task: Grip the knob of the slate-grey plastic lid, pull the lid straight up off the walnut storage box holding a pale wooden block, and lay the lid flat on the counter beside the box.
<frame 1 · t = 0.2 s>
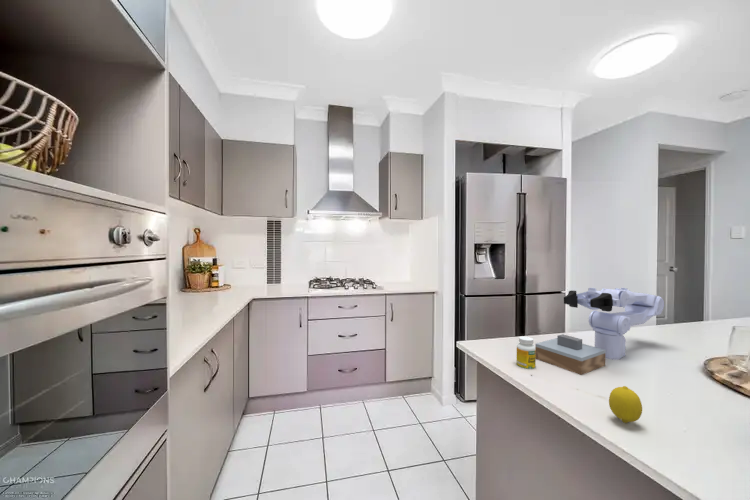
hand: (577, 301, 91), 21 cm above the countertop, tool horizontal, fingers open, 7 cm apart
box: (569, 365, 95), on the countertop
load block: (567, 360, 96), point 1 cm above the countertop, touching box
lid: (569, 354, 95), point 3 cm above the countertop, touching box
lemon: (624, 423, 64), on the countertop
supplement bottle: (525, 369, 92), on the countertop
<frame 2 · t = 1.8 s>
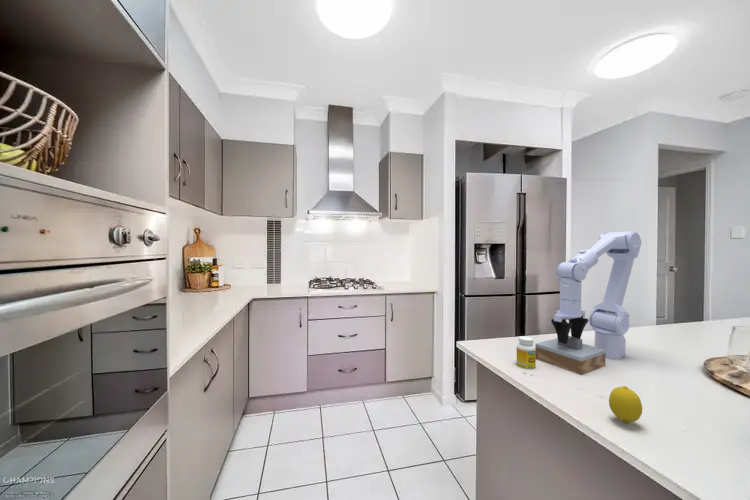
hand: (569, 341, 95), 8 cm above the countertop, tool pointing down, fingers open, 7 cm apart
nothing on the countertop moved.
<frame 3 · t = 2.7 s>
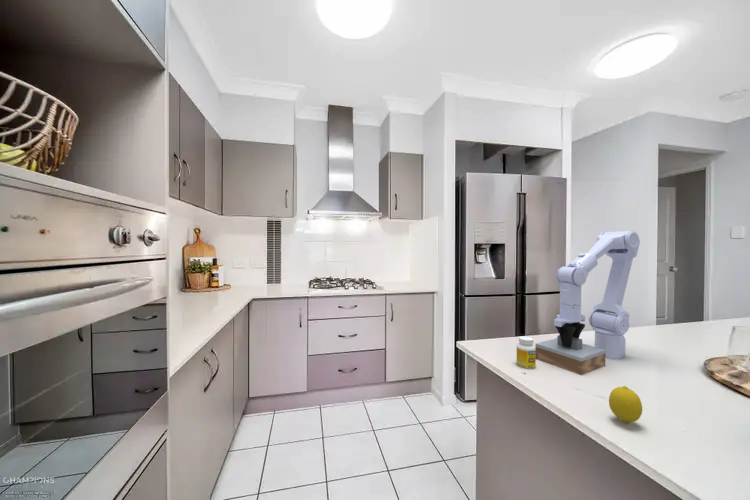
hand: (569, 345, 95), 6 cm above the countertop, tool pointing down, fingers closed on lid, 3 cm apart
lid: (569, 354, 95), point 3 cm above the countertop, touching box, gripper
everything else where it was.
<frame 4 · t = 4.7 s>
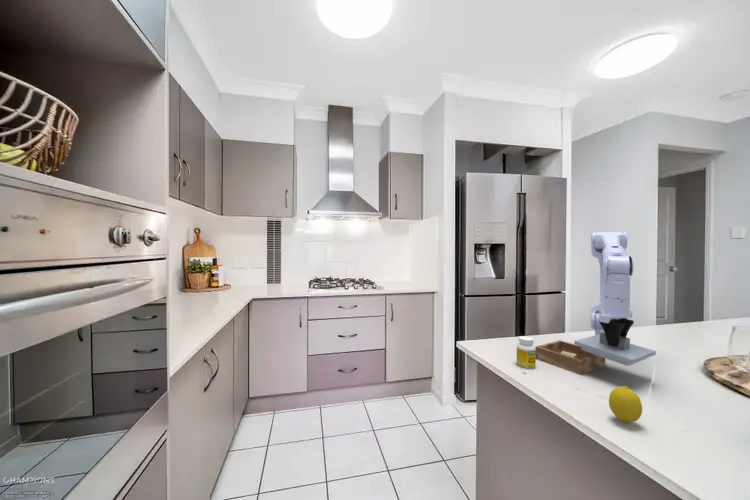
hand: (615, 344, 84), 10 cm above the countertop, tool pointing down, fingers closed on lid, 3 cm apart
lid: (613, 354, 85), point 7 cm above the countertop, touching gripper
everything else where it was.
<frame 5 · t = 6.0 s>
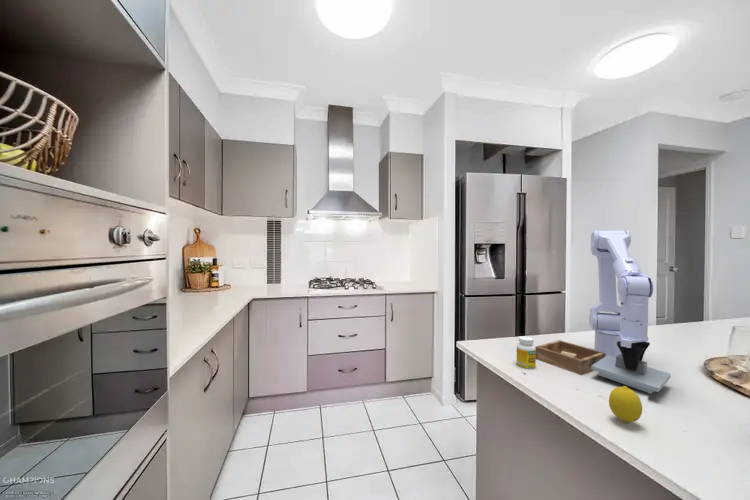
hand: (632, 368, 81), 5 cm above the countertop, tool pointing down, fingers closed on lid, 3 cm apart
lid: (629, 378, 82), point 2 cm above the countertop, touching gripper
everything else where it was.
when the fingers open (4 cm above the countertop, at t = 6.8 s): lid drops 2 cm, on the countertop.
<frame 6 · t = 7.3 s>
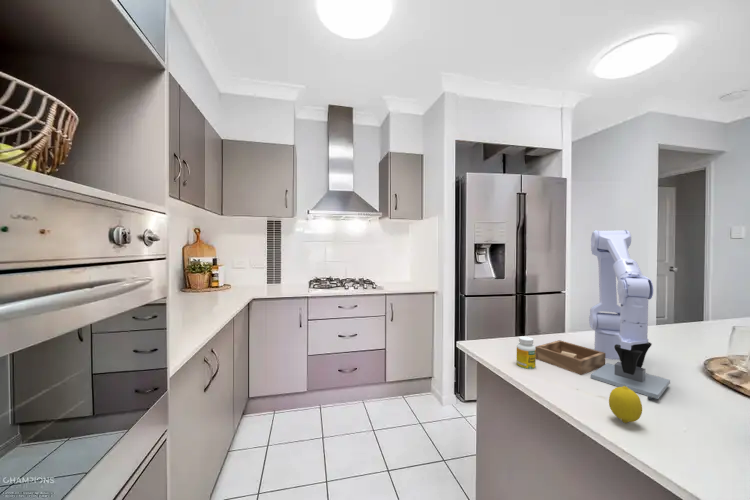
hand: (632, 369, 81), 4 cm above the countertop, tool pointing down, fingers open, 7 cm apart
lid: (629, 385, 82), on the countertop
everything else where it was.
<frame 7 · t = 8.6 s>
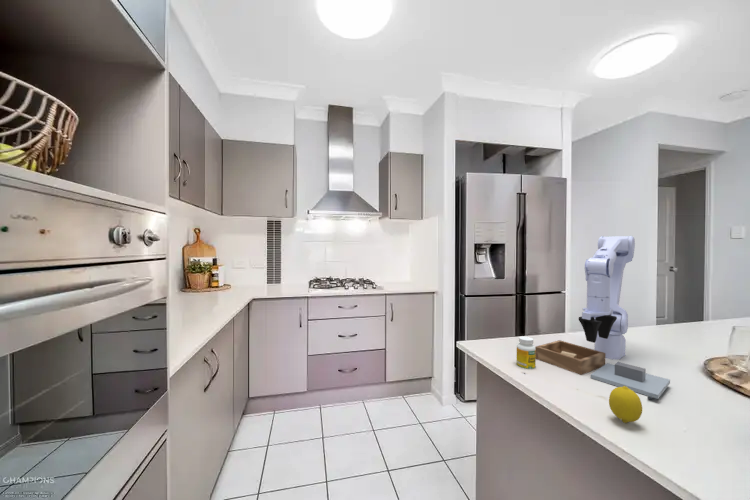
hand: (597, 339, 91), 9 cm above the countertop, tool pointing down, fingers open, 7 cm apart
nothing on the countertop moved.
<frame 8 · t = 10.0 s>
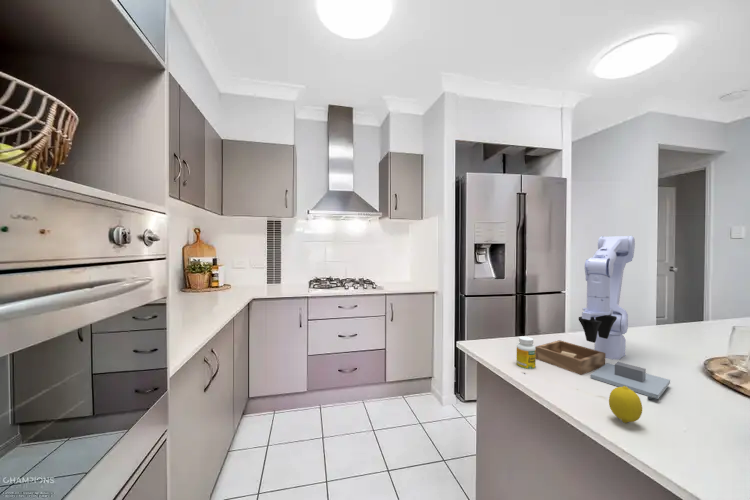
hand: (597, 339, 91), 9 cm above the countertop, tool pointing down, fingers open, 7 cm apart
nothing on the countertop moved.
at the end: lid inside the target area (0.6 cm from its centre), on the countertop; lid tilted 0°; the gripper is holding nothing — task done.
